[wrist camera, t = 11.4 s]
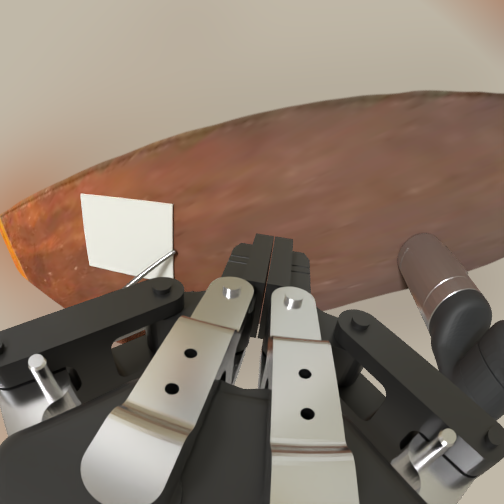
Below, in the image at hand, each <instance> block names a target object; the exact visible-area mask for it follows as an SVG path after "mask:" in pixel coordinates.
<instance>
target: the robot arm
mask: <svg viewBox="0 0 504 504" xmlns="http://www.w3.org/2000/svg"><path fill="white" fill-rule="evenodd" d="M273 239H274V236H269V235H263V234H256V236H255V239H254V242H253V245H251V244H245V243H241V244H239V245H238V246H236V247H235V248H234V249H233V251H232V254H231V256H230V258H229V261H228V263H227V265H226V267H225V270H224V272H223V274H222V277H221V278H218V279H216V280H214V281H213V282H212V283H211V284H210V286H209V287H208V289H207V290H206V291H201V292H184V286H183V285H182V284H181V282H179V281H178V280H176V279H173V278H169V277H156V278H152V279H149V280H146V281H143V282H140V283H137V284H135V285H132V286H129V287H126V288H123V289H120V290H117V291H114V292H111V293H108V294H106V295H103V296H100V297H97V298H94V299H91V300H88V301H85V302H83V303H80V304H77V305H74V306H71V307H68V308H65V309H63V310H60V311H57V312H54V313H51V314H48V315H45V316H42V317H40V318H37V319H34V320H31V321H28V322H26V323H23V324H20V325H17V326H14V327H11V328H9V329H6V330H3V331H0V408H1V412H2V416H3V420H4V423H5V427H6V430H7V434H8V438H7V439H6V440H5V441H3V443H2V444H1V445H0V504H457V503H458V501H459V500H460V499H461V498H462V496H463V495H464V493H465V492H466V491H467V489H468V488H469V486H470V485H471V484H472V482H473V481H474V480H475V479H476V478H477V477H479V476H480V475H482V474H483V473H484V472H485V471H487V470H488V469H490V468H491V467H492V466H494V465H495V464H496V463H497V462H499V461H500V460H501V459H502V458H503V457H504V428H503V427H502V426H501V425H500V424H499V423H498V422H497V421H496V420H498V419H499V418H500V417H501V416H502V415H504V320H501V321H498V322H497V323H495V324H494V325H493V326H492V327H491V328H490V325H491V320H492V311H491V307H490V305H489V303H488V301H487V300H486V299H485V297H484V296H483V295H482V293H481V292H480V291H479V289H478V288H477V287H476V285H475V284H474V283H473V281H472V280H471V279H470V278H469V276H468V272H467V271H466V269H465V268H464V267H463V266H462V264H461V263H460V262H459V261H458V260H457V258H456V257H455V256H454V255H453V254H452V252H451V251H450V250H449V249H448V248H447V246H444V245H443V244H442V243H441V242H440V240H439V239H438V238H437V237H435V236H433V235H431V234H427V233H422V234H418V235H415V236H413V237H411V238H410V239H409V240H407V241H406V242H405V243H404V245H403V246H402V248H401V250H400V252H399V255H398V267H399V269H400V272H401V274H402V276H403V278H404V280H405V282H406V284H407V286H408V288H409V290H410V292H411V294H412V296H413V298H414V300H415V302H416V305H417V306H418V309H419V311H420V313H421V315H422V318H423V320H424V322H425V324H426V326H427V329H428V331H429V333H430V336H431V346H432V350H433V353H434V356H435V359H436V362H437V365H438V369H439V371H438V370H437V369H436V368H435V367H433V366H432V365H431V364H430V363H428V361H426V360H425V359H424V358H423V357H422V356H420V355H419V354H418V353H417V352H416V351H414V350H413V349H412V348H411V347H410V346H408V345H407V344H406V343H405V342H404V341H402V340H401V339H400V338H399V337H397V336H396V335H395V334H394V333H393V332H392V331H390V330H389V329H388V328H387V327H385V326H384V325H383V324H382V323H381V322H379V321H378V320H377V319H376V318H374V317H373V316H372V315H370V314H368V313H366V312H364V311H360V310H346V311H344V312H342V313H341V314H340V315H339V318H337V317H335V316H332V315H329V314H327V313H325V312H323V311H321V310H320V309H318V308H317V307H316V303H315V299H314V298H313V296H312V295H311V289H310V269H309V268H310V264H309V259H308V258H307V257H306V255H305V254H304V253H300V252H294V251H292V249H293V239H287V238H281V237H275V242H274V248H273V253H272V259H271V264H270V258H271V252H272V246H273ZM269 264H270V270H269ZM268 271H269V275H268ZM267 277H268V281H267ZM266 282H267V286H266ZM265 288H266V292H265ZM264 293H265V298H264ZM263 298H264V304H263V310H262V316H261V322H260V329H259V334H258V338H260V339H263V345H262V349H261V355H260V366H259V380H258V389H242V388H239V387H236V386H234V384H235V381H236V378H237V375H238V373H239V369H240V367H241V364H242V361H243V358H244V355H245V350H246V347H247V345H248V343H249V338H250V337H254V338H256V334H257V329H258V324H259V319H260V314H261V309H262V303H263ZM144 327H145V331H146V335H144V336H141V337H139V338H136V339H134V340H132V341H129V342H127V343H124V344H122V345H119V346H117V347H115V348H112V349H111V346H112V344H113V342H114V341H115V340H116V339H117V338H119V337H121V336H124V335H126V334H129V333H131V332H134V331H136V330H139V329H141V328H144ZM489 328H490V329H489ZM363 367H364V368H365V369H366V370H367V371H368V372H369V373H370V374H371V375H372V376H374V377H375V378H376V379H377V380H378V381H379V382H380V383H381V384H382V385H383V387H384V388H385V391H386V397H385V396H384V395H383V394H382V393H381V392H380V391H379V390H378V389H377V388H376V387H375V386H374V385H373V384H372V383H371V382H370V381H368V380H367V379H366V378H365V377H364V376H363V375H362V374H361V373H360V372H361V371H362V369H363Z"/></svg>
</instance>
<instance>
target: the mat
mask: <svg viewBox="0 0 504 504" xmlns="http://www.w3.org/2000/svg"><path fill="white" fill-rule="evenodd" d="M81 204H82V214H83V223H84V231H85V239H86V246H87V252H88V258H89V264H90V266H94V267H98V268H103V269H107V270H111V271H116V272H120V273H125V274H129V275H134V276H137V275H139V274H140V273H141V272H143V271H144V270H145V269H147V268H148V267H149V266H151V265H152V264H153V263H155V262H156V261H158V260H159V259H160V258H162V257H163V256H165V255H166V254H168V253H169V252H171V251H172V250H173V204H167V203H160V202H152V201H143V200H135V199H127V198H118V197H109V196H100V195H91V194H81ZM156 277H169V278H173V279H174V270H173V255H172V256H171V257H170V258H168V259H167V260H165V261H164V262H163V263H161V264H160V265H159V266H157V267H156V268H155V269H153V270H152V271H151V272H150V273H148V274H147V275H146V276H145V277H143V278H147V279H152V278H156Z"/></svg>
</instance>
